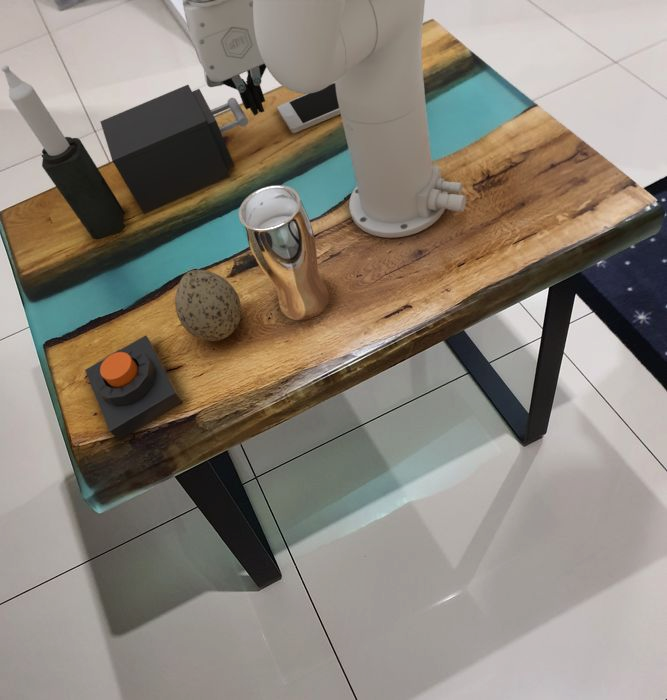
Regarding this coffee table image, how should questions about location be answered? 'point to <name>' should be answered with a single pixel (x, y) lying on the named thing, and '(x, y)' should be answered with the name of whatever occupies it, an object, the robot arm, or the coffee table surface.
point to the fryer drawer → (217, 130)
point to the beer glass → (285, 249)
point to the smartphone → (310, 109)
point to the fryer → (164, 149)
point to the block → (135, 391)
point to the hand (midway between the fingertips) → (256, 108)
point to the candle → (68, 164)
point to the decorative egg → (207, 305)
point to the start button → (119, 369)
